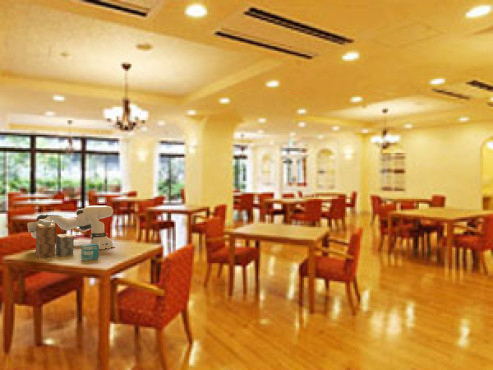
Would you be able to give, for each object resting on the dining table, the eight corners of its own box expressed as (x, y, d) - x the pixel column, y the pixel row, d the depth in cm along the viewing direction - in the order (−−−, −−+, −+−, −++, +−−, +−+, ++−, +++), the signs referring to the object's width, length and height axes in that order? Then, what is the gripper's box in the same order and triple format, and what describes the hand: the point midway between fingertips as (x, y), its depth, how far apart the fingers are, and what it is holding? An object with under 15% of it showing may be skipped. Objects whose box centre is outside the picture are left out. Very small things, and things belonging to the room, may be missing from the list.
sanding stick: (43, 222, 308) (44, 219, 308) (50, 225, 292) (50, 221, 292) (38, 222, 305) (38, 219, 305) (45, 225, 289) (45, 222, 289)
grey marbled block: (68, 252, 313) (68, 233, 313) (73, 254, 304) (73, 235, 304) (55, 253, 307) (56, 234, 307) (60, 256, 297) (60, 236, 297)
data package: (82, 261, 283) (82, 245, 283) (81, 260, 287) (81, 244, 286) (98, 259, 290) (98, 244, 290) (96, 258, 294) (97, 243, 294)
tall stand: (50, 254, 304) (51, 223, 304) (54, 256, 294) (55, 224, 294) (35, 255, 297) (36, 223, 296) (39, 258, 287) (40, 225, 287)
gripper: (53, 230, 317) (57, 223, 308) (26, 232, 303) (29, 225, 294) (52, 223, 319) (56, 217, 310) (25, 225, 305) (29, 218, 296)
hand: (43, 221), depth 302 cm, fingers closed on sanding stick, 4 cm apart
